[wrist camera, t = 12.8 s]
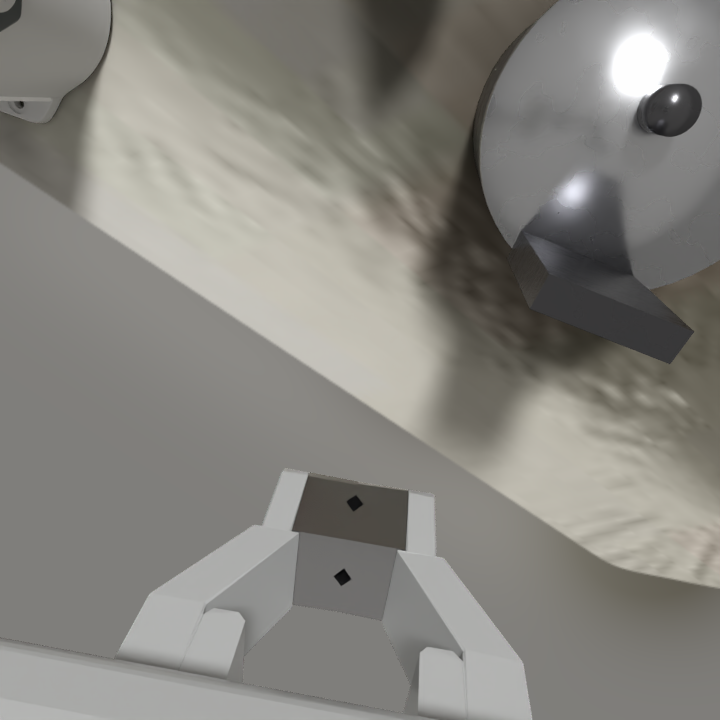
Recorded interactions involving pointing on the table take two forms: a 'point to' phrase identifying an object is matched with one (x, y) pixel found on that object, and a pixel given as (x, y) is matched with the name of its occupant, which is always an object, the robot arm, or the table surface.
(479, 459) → the table surface
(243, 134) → the table surface
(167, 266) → the table surface
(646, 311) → the lid
